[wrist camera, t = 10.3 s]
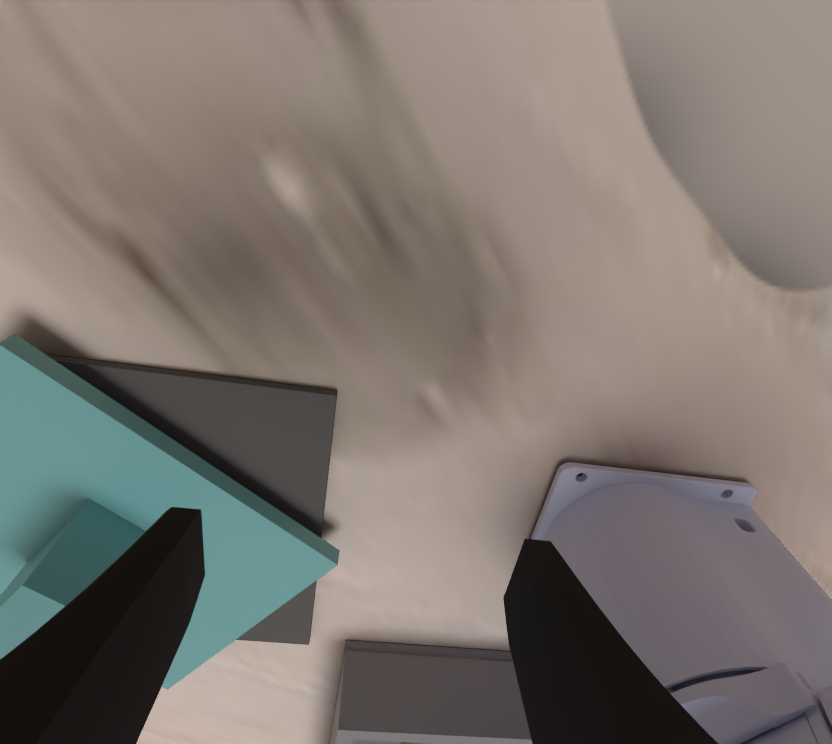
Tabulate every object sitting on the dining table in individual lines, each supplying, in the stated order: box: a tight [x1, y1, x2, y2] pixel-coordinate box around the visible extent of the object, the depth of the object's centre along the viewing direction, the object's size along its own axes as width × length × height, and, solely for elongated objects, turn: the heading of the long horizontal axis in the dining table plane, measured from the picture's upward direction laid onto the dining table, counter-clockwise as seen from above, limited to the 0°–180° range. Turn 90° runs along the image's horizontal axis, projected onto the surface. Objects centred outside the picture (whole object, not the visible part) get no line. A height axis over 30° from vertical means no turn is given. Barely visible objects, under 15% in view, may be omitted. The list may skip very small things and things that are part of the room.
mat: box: [46, 354, 337, 645], centre depth 22 cm, size 18×16×1 cm
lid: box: [0, 334, 339, 689], centre depth 20 cm, size 15×13×6 cm
